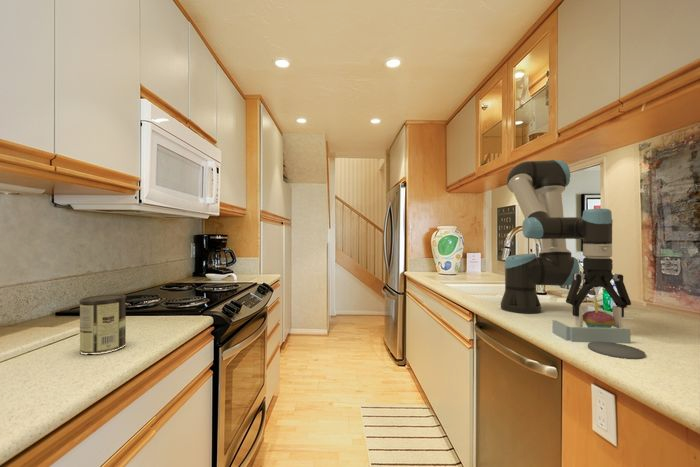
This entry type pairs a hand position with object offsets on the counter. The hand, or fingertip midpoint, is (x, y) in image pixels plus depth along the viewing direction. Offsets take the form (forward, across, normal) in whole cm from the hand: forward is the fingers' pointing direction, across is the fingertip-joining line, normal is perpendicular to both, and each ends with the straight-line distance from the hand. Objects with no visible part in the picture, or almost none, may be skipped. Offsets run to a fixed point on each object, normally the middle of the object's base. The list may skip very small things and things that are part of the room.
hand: (598, 327), depth 106 cm
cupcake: (+2, 0, 0) cm, 2 cm away
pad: (+2, -6, -17) cm, 18 cm away
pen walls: (+2, -6, -5) cm, 8 cm away
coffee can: (+2, -144, -28) cm, 147 cm away
